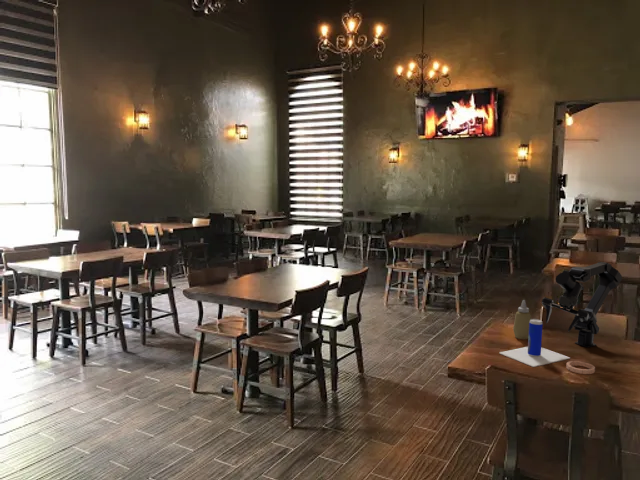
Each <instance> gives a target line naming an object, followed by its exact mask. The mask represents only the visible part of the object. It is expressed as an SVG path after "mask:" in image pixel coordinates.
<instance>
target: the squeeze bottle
mask: <svg viewBox="0 0 640 480" xmlns="http://www.w3.org/2000/svg"><path fill="white" fill-rule="evenodd" d="M526 302H527V301H526V300H525V299H523V300H522V302H521V305H520V306H519V307H518V308H517V311H516V312H515V316H514V323H513V328H512V330H513V333H514V337H515V338H516V339H519V340H528V339H529V322H530V320H531V319H532V315H531V313H530V312H529V311H530V308H529V307H527V303H526Z"/></svg>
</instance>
